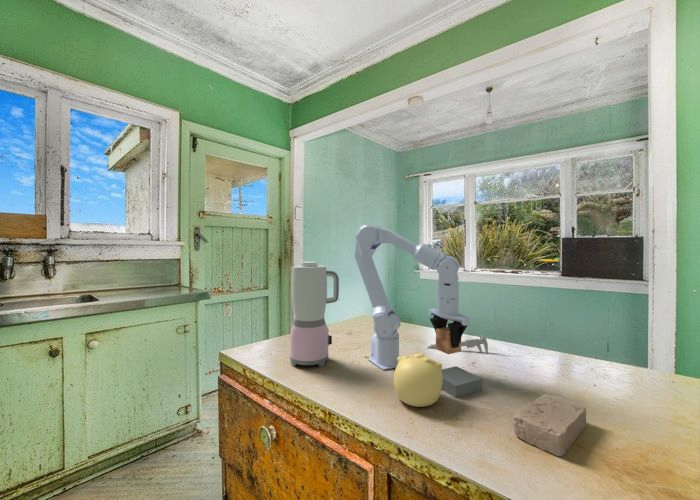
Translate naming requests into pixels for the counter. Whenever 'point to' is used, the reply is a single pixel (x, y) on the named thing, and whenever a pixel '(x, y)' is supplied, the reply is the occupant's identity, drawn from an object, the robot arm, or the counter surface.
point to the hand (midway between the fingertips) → (448, 344)
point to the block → (445, 341)
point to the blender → (310, 313)
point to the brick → (550, 423)
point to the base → (460, 382)
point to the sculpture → (418, 380)
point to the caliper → (470, 343)
